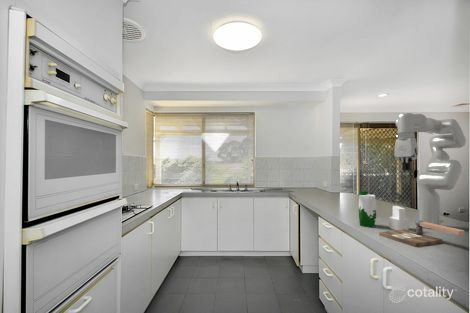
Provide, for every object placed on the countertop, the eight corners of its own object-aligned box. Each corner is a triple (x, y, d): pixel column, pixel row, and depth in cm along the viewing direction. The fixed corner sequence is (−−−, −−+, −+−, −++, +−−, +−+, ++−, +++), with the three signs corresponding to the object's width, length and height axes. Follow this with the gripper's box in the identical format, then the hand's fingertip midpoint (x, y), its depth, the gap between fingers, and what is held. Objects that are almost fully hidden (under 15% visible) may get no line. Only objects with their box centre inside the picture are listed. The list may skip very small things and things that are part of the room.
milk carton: (359, 222, 151) (359, 190, 151) (376, 224, 146) (376, 191, 147) (358, 225, 143) (358, 191, 144) (375, 228, 139) (375, 192, 139)
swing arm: (413, 224, 123) (413, 220, 123) (418, 223, 124) (418, 220, 124) (458, 235, 105) (458, 231, 105) (464, 234, 106) (464, 230, 106)
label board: (404, 232, 131) (404, 221, 131) (442, 242, 114) (442, 230, 114) (379, 235, 125) (379, 224, 125) (415, 246, 108) (415, 233, 108)
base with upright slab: (411, 231, 133) (411, 209, 133) (393, 230, 134) (393, 208, 135) (403, 227, 141) (403, 206, 142) (386, 226, 143) (386, 205, 144)
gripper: (388, 137, 139) (388, 169, 138) (415, 134, 124) (415, 170, 124) (397, 137, 141) (398, 169, 141) (425, 135, 127) (425, 170, 127)
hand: (406, 170), depth 132 cm, fingers closed
